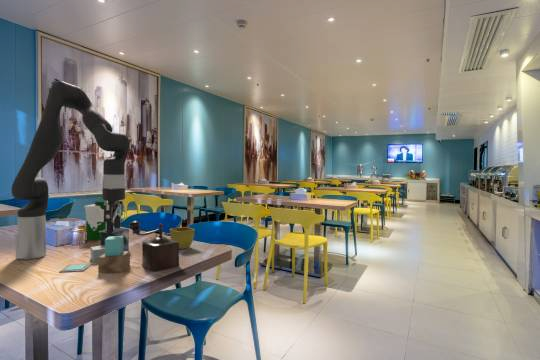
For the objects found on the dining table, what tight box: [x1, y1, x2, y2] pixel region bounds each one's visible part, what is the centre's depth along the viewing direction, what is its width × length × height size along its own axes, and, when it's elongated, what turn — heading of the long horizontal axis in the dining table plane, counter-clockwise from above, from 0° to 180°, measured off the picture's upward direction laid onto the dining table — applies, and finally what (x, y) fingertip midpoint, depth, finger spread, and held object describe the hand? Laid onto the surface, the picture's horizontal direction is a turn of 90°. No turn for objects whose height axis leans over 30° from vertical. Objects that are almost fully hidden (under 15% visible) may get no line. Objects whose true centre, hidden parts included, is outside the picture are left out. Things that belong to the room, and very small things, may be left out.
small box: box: [100, 227, 130, 251], centre depth 133 cm, size 11×6×10 cm, turn 168°
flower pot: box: [169, 226, 196, 250], centre depth 144 cm, size 9×9×9 cm
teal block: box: [105, 236, 123, 256], centre depth 112 cm, size 5×5×6 cm
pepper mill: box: [128, 220, 180, 273], centre depth 115 cm, size 16×11×18 cm
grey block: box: [90, 245, 105, 263], centre depth 124 cm, size 5×5×6 cm
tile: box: [58, 263, 93, 273], centre depth 113 cm, size 8×8×1 cm
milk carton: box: [83, 200, 106, 241], centre depth 160 cm, size 9×9×20 cm
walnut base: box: [97, 250, 131, 275], centre depth 112 cm, size 8×8×6 cm
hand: (113, 230), depth 112 cm, fingers open, 8 cm apart
